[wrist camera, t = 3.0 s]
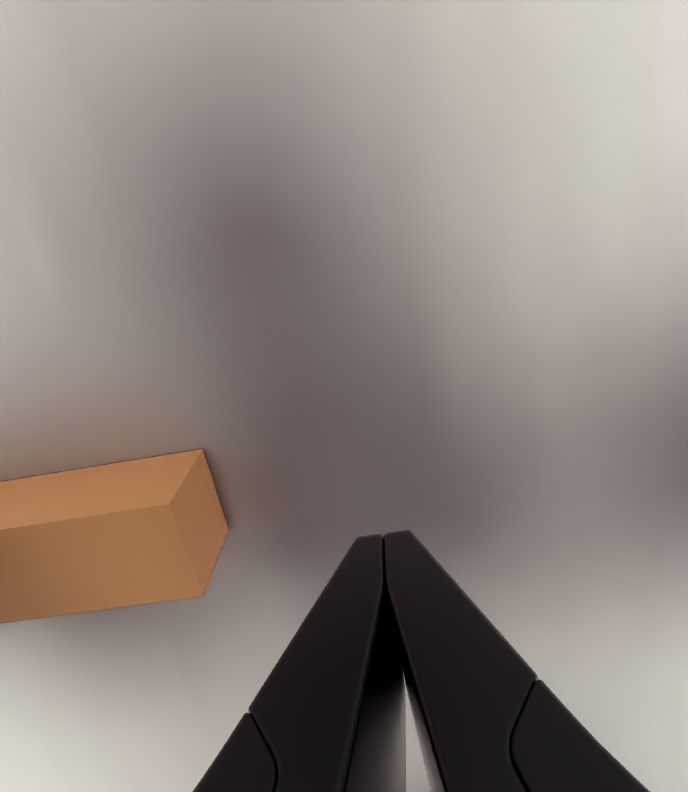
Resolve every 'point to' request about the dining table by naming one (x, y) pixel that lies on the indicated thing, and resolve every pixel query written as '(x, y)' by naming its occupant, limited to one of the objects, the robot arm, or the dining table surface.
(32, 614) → the plug
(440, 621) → the robot arm
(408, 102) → the dining table surface
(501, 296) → the dining table surface
